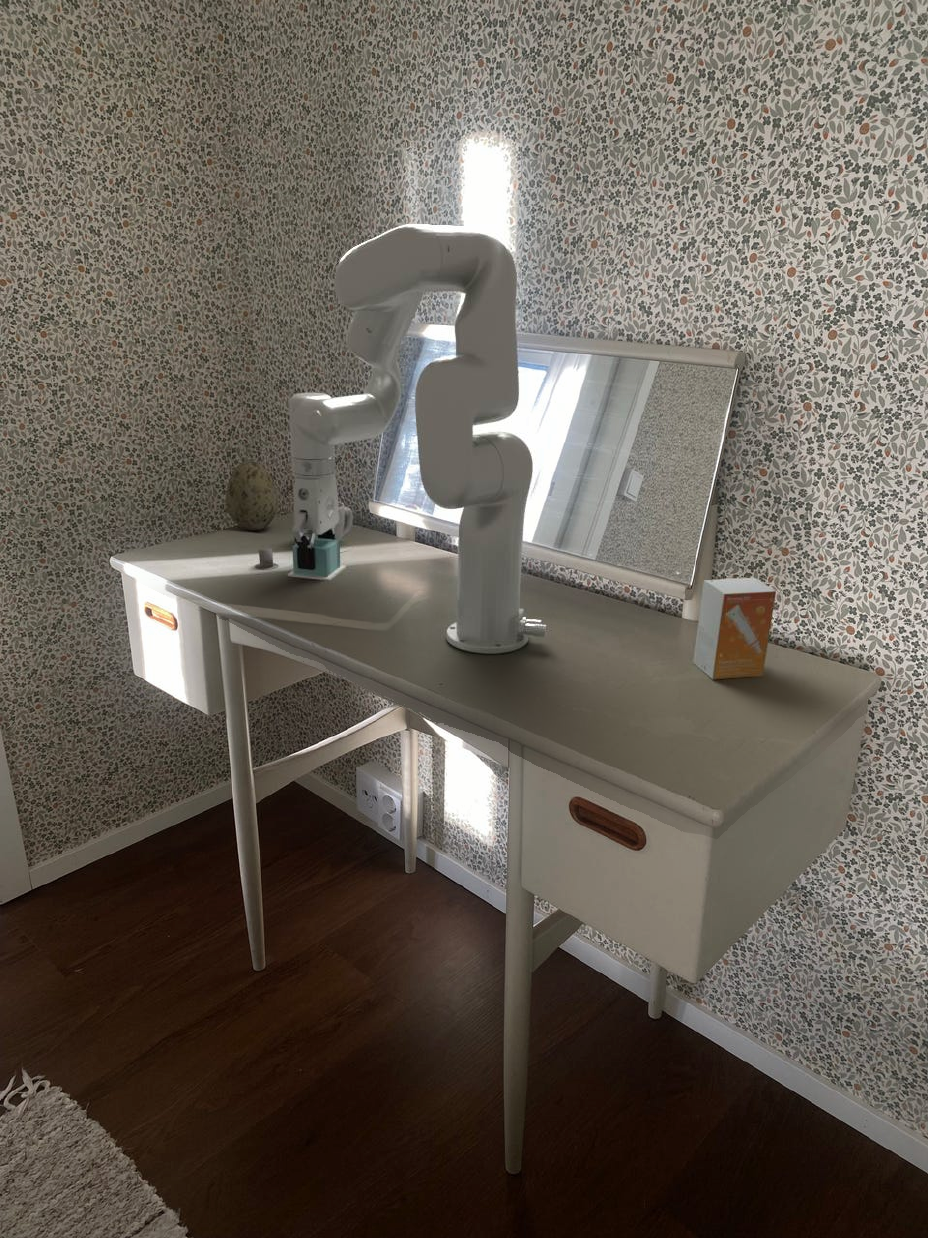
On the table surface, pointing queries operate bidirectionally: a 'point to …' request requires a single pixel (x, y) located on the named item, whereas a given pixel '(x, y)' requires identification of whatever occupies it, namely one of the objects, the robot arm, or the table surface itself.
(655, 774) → the table surface
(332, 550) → the c link
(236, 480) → the decorative egg
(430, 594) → the table surface
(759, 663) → the small box
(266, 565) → the stand
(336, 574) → the pad
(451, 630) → the robot arm
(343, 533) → the mug
